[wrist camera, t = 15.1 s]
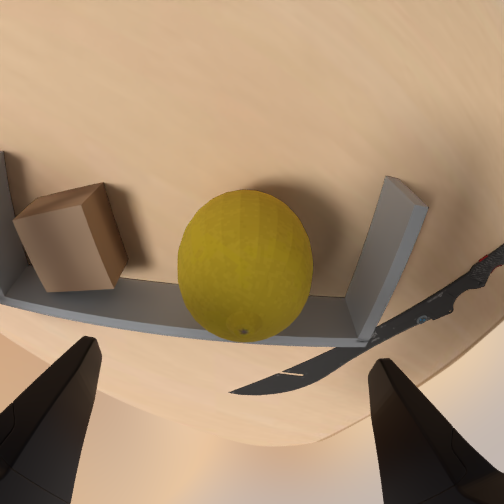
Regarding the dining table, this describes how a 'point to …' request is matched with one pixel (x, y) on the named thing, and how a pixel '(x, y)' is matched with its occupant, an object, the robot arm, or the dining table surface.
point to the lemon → (245, 266)
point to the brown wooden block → (73, 240)
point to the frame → (178, 316)
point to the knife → (379, 332)
